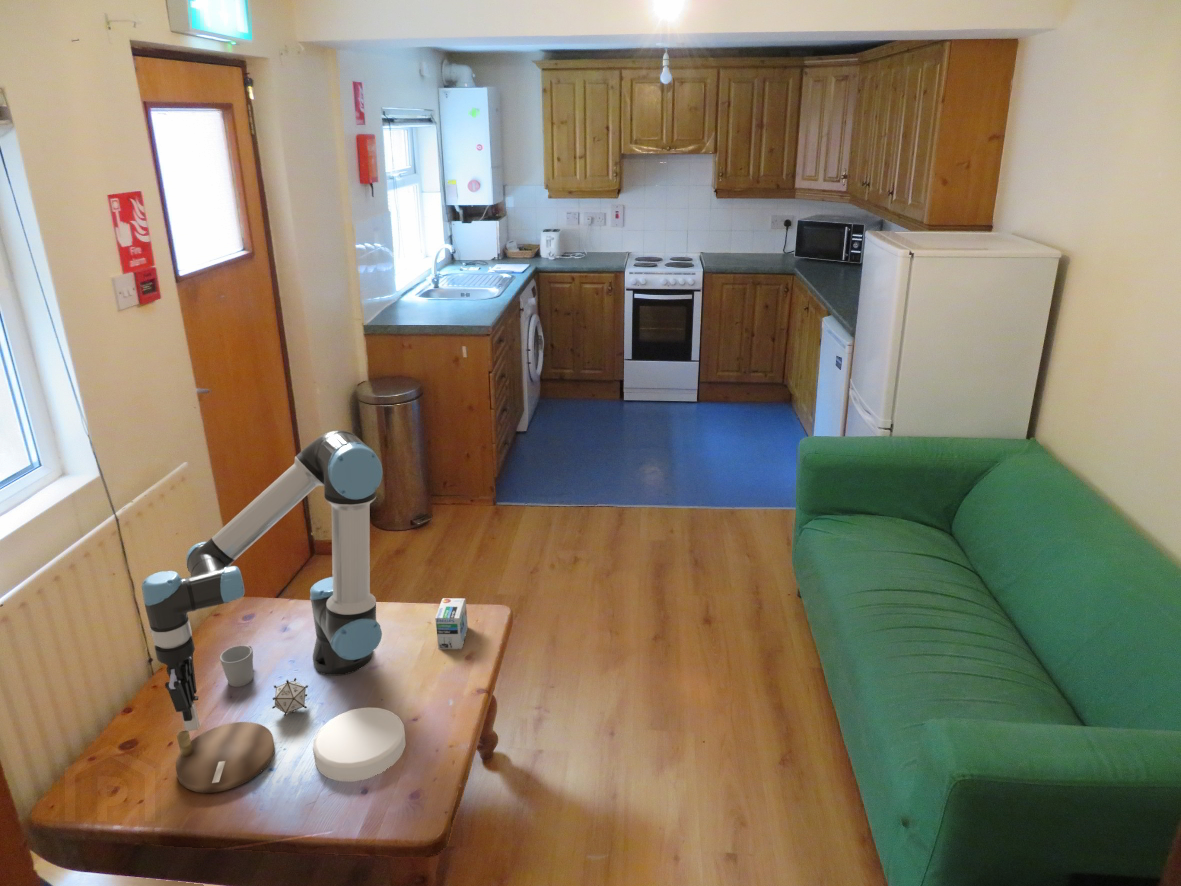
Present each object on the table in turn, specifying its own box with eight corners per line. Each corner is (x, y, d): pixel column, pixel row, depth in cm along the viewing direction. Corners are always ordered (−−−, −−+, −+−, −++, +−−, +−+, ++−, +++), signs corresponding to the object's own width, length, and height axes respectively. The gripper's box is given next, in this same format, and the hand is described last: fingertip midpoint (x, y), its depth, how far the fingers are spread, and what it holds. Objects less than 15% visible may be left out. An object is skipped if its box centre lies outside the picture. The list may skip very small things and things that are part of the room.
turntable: (281, 723, 193) (277, 699, 190) (266, 784, 174) (261, 758, 172) (191, 735, 189) (185, 710, 187) (165, 799, 171) (159, 772, 169)
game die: (319, 707, 199) (314, 672, 196) (297, 729, 192) (291, 693, 188) (289, 699, 202) (283, 665, 199) (265, 721, 195) (259, 686, 191)
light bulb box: (462, 653, 220) (459, 618, 216) (437, 653, 220) (434, 618, 216) (468, 630, 230) (466, 597, 226) (444, 630, 230) (442, 597, 226)
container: (310, 735, 190) (308, 719, 189) (397, 712, 198) (395, 696, 196) (320, 794, 173) (317, 776, 171) (414, 766, 180) (412, 749, 179)
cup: (219, 690, 206) (213, 661, 203) (240, 666, 216) (235, 638, 213) (247, 692, 205) (241, 663, 202) (267, 668, 215) (262, 640, 212)
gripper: (163, 625, 184) (183, 712, 192) (145, 659, 172) (166, 750, 180) (199, 621, 185) (216, 708, 193) (183, 654, 173) (202, 745, 181)
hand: (192, 728), depth 186 cm, fingers closed
